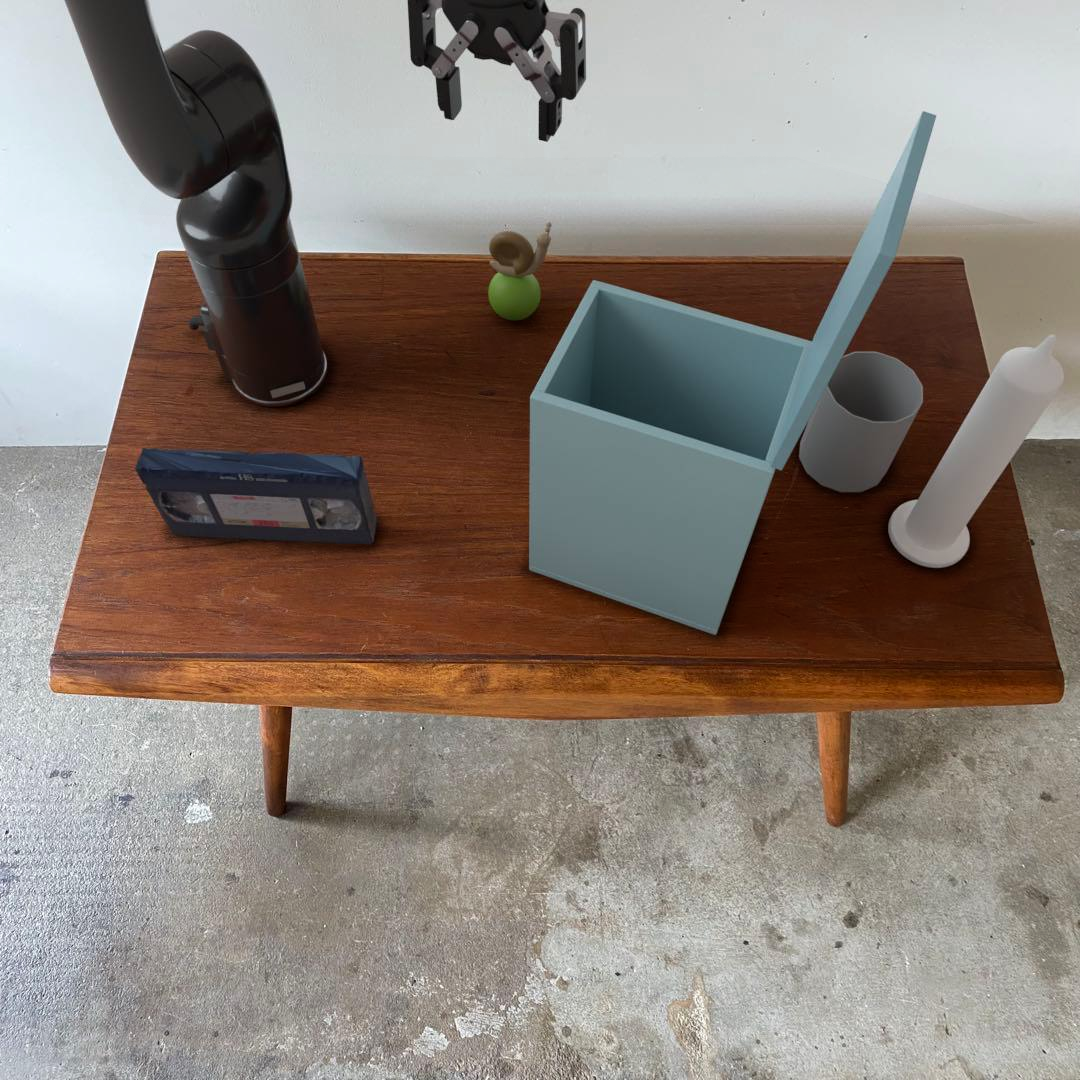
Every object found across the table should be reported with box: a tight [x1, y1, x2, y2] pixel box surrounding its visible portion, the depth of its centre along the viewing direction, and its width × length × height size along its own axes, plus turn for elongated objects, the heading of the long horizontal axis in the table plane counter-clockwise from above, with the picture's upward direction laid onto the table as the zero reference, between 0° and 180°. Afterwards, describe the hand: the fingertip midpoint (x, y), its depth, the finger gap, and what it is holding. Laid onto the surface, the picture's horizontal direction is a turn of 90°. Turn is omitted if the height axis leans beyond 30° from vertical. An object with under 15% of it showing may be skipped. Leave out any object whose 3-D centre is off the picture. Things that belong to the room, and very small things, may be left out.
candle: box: [887, 333, 1065, 569], centre depth 77 cm, size 7×7×25 cm
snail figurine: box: [487, 221, 552, 321], centre depth 97 cm, size 5×6×12 cm
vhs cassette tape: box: [134, 447, 378, 545], centre depth 82 cm, size 18×3×10 cm, turn 86°
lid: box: [770, 110, 937, 471], centre depth 57 cm, size 18×13×1 cm
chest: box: [528, 279, 813, 636], centre depth 77 cm, size 17×13×23 cm
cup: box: [798, 351, 924, 493], centre depth 88 cm, size 8×8×10 cm
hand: (499, 125), depth 81 cm, fingers open, 8 cm apart
